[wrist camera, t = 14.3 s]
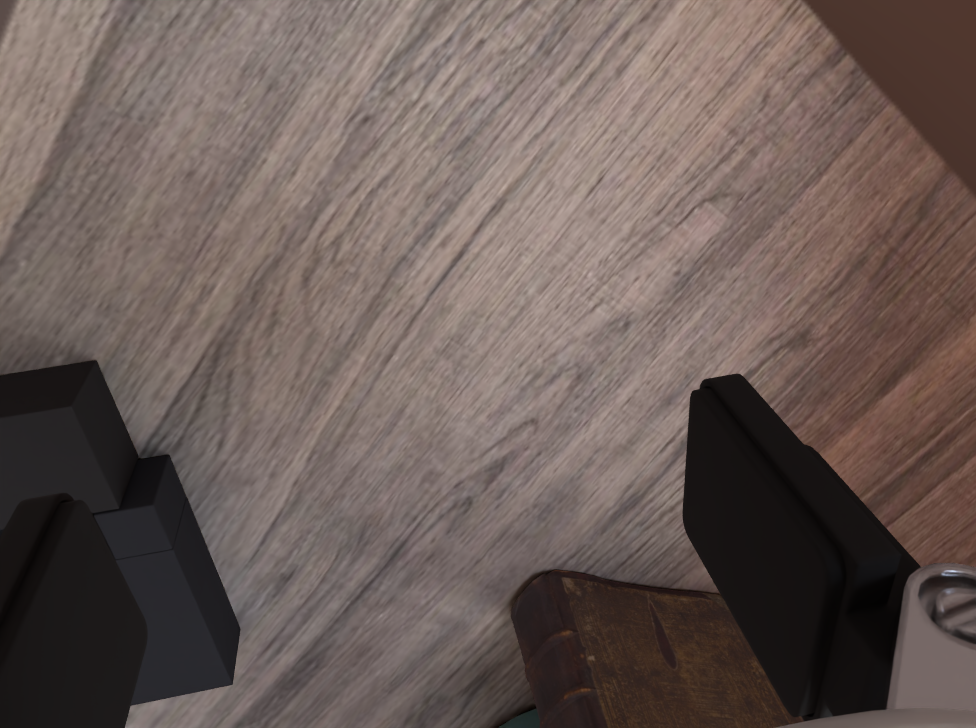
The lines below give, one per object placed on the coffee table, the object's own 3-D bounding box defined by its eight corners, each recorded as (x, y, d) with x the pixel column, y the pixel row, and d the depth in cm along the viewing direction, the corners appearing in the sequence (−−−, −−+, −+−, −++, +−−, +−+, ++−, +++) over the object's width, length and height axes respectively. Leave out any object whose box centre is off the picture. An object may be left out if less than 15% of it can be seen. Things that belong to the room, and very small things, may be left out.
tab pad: (-58, 384, 35) (-101, 434, 31) (96, 359, 35) (70, 406, 32) (21, 521, 39) (-9, 578, 36) (156, 497, 40) (139, 550, 37)
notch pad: (-31, 488, 38) (-68, 544, 34) (169, 453, 39) (153, 504, 35) (74, 661, 45) (53, 721, 42) (240, 629, 46) (233, 685, 43)
